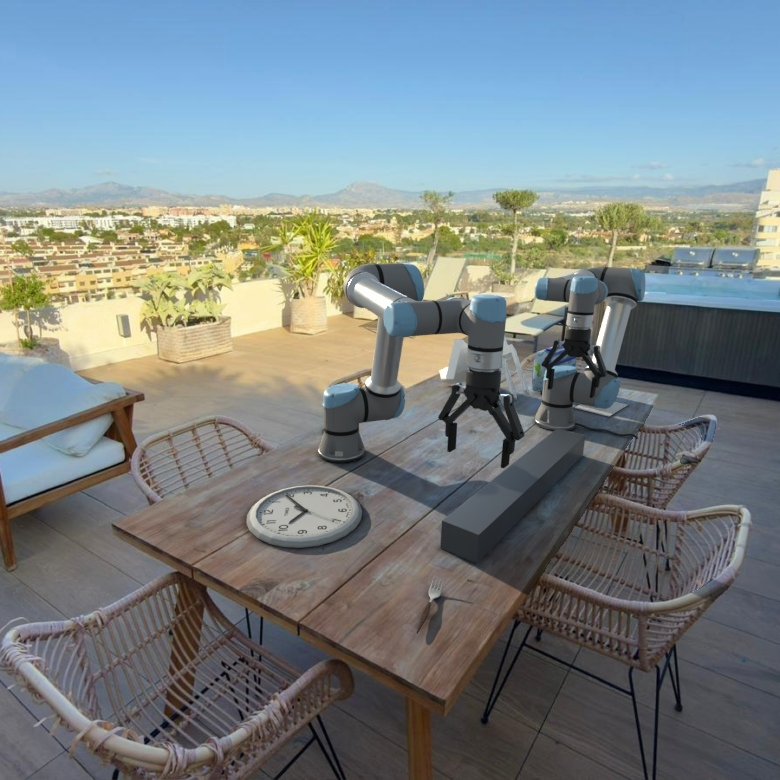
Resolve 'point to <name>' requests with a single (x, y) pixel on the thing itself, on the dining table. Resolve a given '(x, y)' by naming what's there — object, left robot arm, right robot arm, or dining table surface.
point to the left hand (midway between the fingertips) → (477, 457)
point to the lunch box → (540, 357)
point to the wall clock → (304, 516)
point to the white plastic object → (459, 365)
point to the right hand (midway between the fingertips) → (570, 392)
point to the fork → (433, 594)
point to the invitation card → (601, 411)
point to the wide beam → (509, 496)
